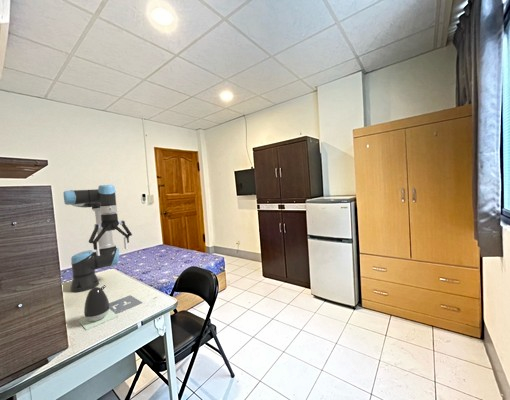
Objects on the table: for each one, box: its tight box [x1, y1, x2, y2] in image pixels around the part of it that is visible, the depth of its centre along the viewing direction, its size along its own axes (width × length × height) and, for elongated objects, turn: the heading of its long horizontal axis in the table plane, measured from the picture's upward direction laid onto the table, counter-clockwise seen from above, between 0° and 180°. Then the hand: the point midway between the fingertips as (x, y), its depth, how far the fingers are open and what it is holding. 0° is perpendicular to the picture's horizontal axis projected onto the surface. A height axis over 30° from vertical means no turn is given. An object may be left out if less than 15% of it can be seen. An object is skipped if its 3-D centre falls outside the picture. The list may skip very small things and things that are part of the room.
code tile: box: [109, 294, 143, 315], centre depth 124 cm, size 16×16×1 cm
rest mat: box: [77, 309, 119, 331], centre depth 111 cm, size 13×13×1 cm
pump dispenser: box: [83, 284, 110, 321], centre depth 111 cm, size 10×10×15 cm
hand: (112, 252), depth 124 cm, fingers open, 13 cm apart
